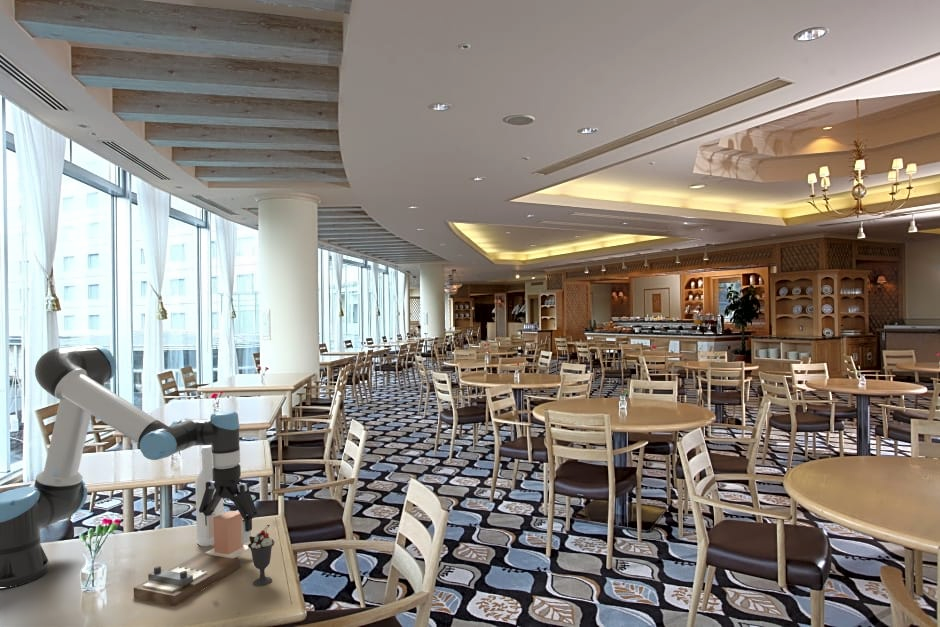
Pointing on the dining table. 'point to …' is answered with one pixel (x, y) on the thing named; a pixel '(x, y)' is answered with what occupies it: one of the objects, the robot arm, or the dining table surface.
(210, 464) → the bottle
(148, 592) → the board
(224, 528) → the stub
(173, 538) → the dining table surface
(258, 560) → the sundae
